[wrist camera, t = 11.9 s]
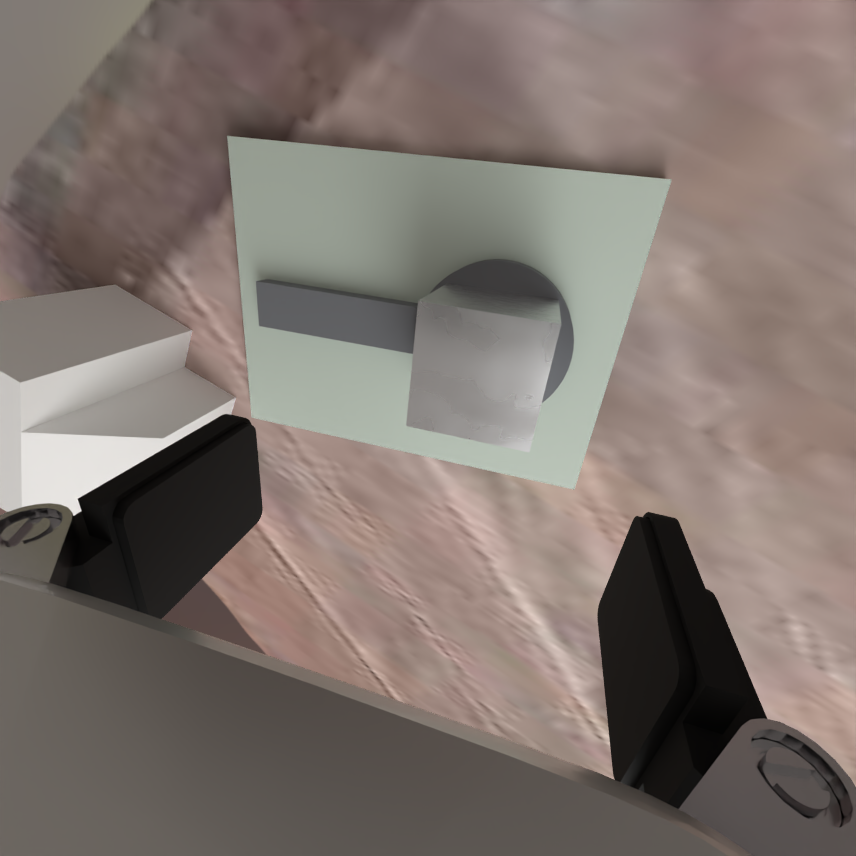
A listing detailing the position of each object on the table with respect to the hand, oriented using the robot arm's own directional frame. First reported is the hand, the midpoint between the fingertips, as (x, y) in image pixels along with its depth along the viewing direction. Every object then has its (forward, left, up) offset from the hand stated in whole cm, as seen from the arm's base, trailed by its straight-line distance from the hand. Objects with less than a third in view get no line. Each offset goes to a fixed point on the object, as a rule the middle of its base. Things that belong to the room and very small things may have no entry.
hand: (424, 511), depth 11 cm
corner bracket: (+25, +8, -19) cm, 33 cm away
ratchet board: (+5, 0, -19) cm, 19 cm away
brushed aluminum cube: (0, 0, -16) cm, 16 cm away
